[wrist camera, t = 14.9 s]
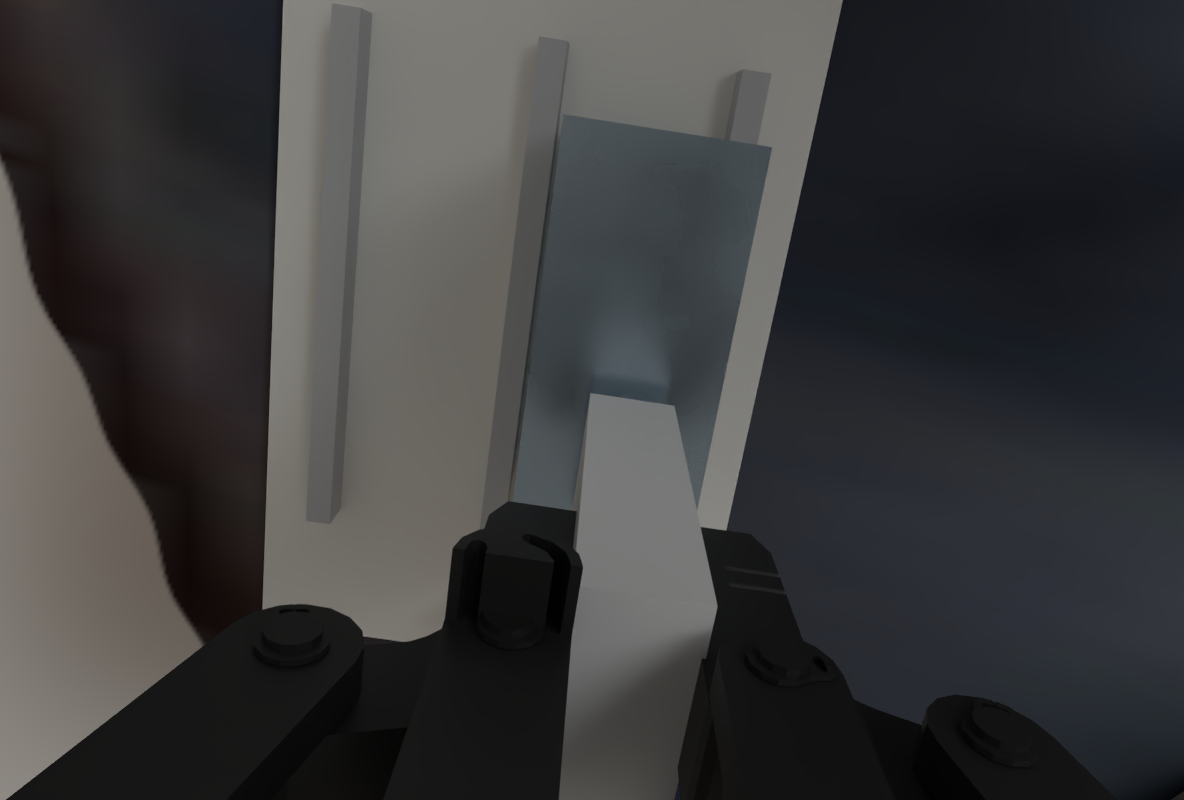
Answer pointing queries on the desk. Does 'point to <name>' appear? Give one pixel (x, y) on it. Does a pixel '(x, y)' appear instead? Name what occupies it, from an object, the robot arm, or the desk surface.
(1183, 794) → the electrical switch
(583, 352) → the panel
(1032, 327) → the desk surface
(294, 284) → the rack
